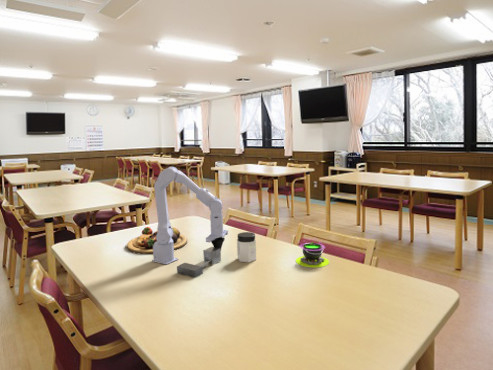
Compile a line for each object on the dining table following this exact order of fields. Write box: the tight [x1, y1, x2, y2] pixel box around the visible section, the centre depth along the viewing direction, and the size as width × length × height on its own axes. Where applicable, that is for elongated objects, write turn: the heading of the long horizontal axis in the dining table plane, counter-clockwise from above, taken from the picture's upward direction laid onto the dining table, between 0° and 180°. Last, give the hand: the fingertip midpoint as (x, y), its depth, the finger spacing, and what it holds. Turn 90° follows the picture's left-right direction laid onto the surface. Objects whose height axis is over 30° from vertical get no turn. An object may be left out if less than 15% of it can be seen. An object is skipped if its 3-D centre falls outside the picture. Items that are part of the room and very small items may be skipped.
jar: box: [236, 231, 257, 263], centre depth 161 cm, size 9×8×12 cm
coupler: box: [176, 259, 209, 278], centre depth 151 cm, size 10×14×3 cm
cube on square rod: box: [202, 246, 222, 266], centre depth 159 cm, size 5×6×6 cm
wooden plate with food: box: [126, 226, 188, 255], centre depth 188 cm, size 32×32×8 cm
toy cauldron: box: [295, 236, 330, 269], centre depth 157 cm, size 15×15×11 cm
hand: (217, 253), depth 163 cm, fingers closed
